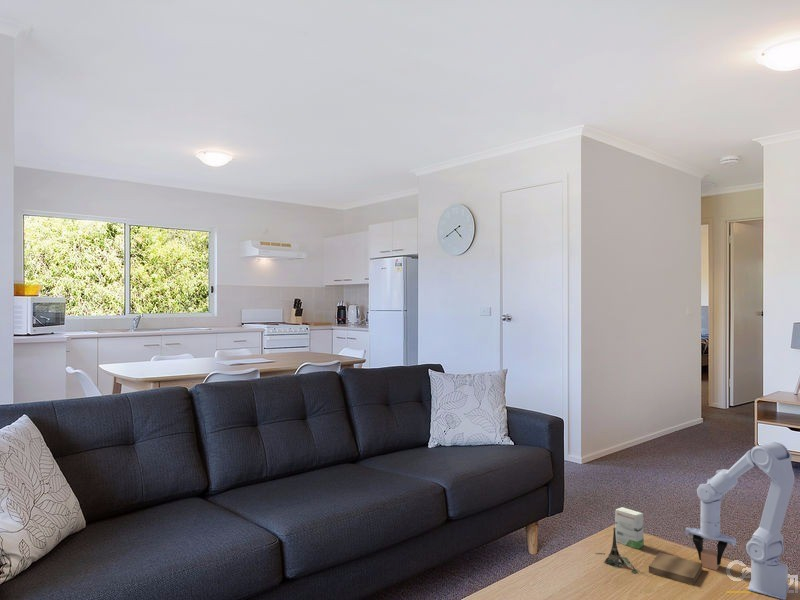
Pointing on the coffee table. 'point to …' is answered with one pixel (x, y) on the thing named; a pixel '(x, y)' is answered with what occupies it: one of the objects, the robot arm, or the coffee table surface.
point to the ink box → (629, 527)
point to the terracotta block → (709, 559)
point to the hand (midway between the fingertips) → (710, 561)
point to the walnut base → (675, 568)
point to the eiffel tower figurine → (617, 557)
